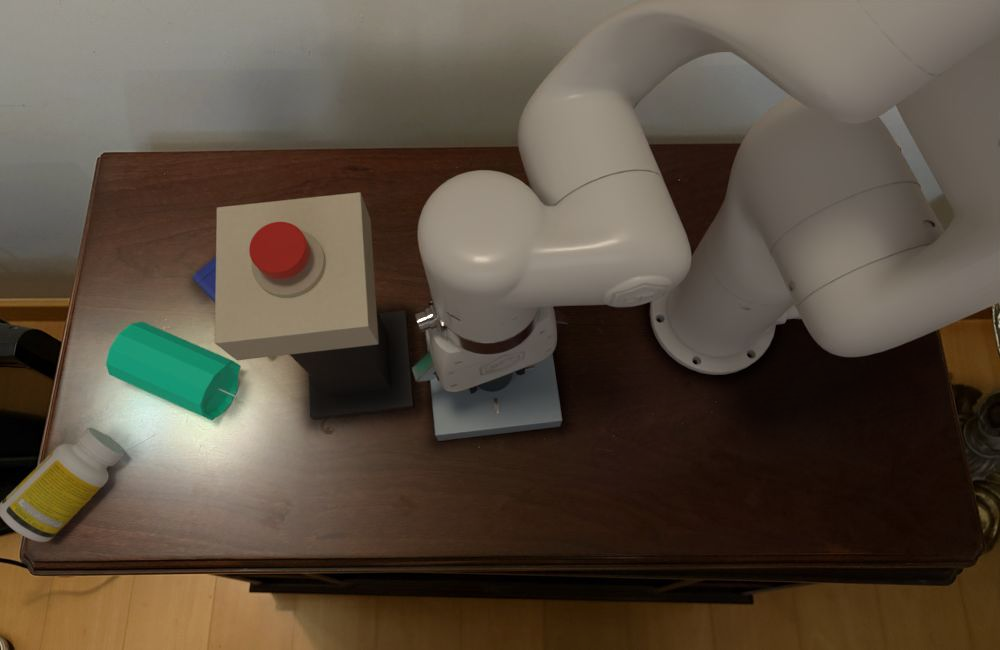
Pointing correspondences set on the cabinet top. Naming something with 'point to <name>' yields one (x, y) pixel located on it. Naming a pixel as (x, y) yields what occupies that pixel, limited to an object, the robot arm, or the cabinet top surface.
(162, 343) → the candle
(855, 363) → the cabinet top surface
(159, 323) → the cabinet top surface
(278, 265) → the power button
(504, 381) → the dial
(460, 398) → the dial panel
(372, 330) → the switch tower
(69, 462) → the supplement bottle
